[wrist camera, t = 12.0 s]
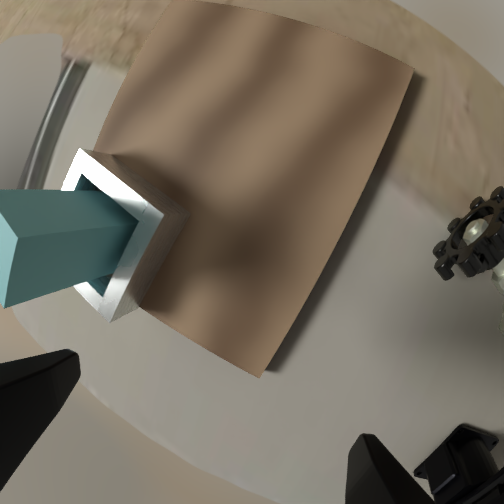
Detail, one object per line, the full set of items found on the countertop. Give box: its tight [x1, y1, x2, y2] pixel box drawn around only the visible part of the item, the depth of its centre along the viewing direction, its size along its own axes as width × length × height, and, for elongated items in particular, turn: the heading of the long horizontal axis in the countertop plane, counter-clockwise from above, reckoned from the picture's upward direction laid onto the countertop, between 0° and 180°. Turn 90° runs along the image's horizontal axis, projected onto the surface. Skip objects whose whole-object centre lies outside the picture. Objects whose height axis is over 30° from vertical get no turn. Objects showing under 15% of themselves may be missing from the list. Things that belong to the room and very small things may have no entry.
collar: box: [61, 148, 191, 323], centre depth 19 cm, size 8×8×4 cm
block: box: [0, 190, 139, 308], centre depth 16 cm, size 4×4×11 cm
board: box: [93, 0, 415, 378], centre depth 19 cm, size 19×23×1 cm
